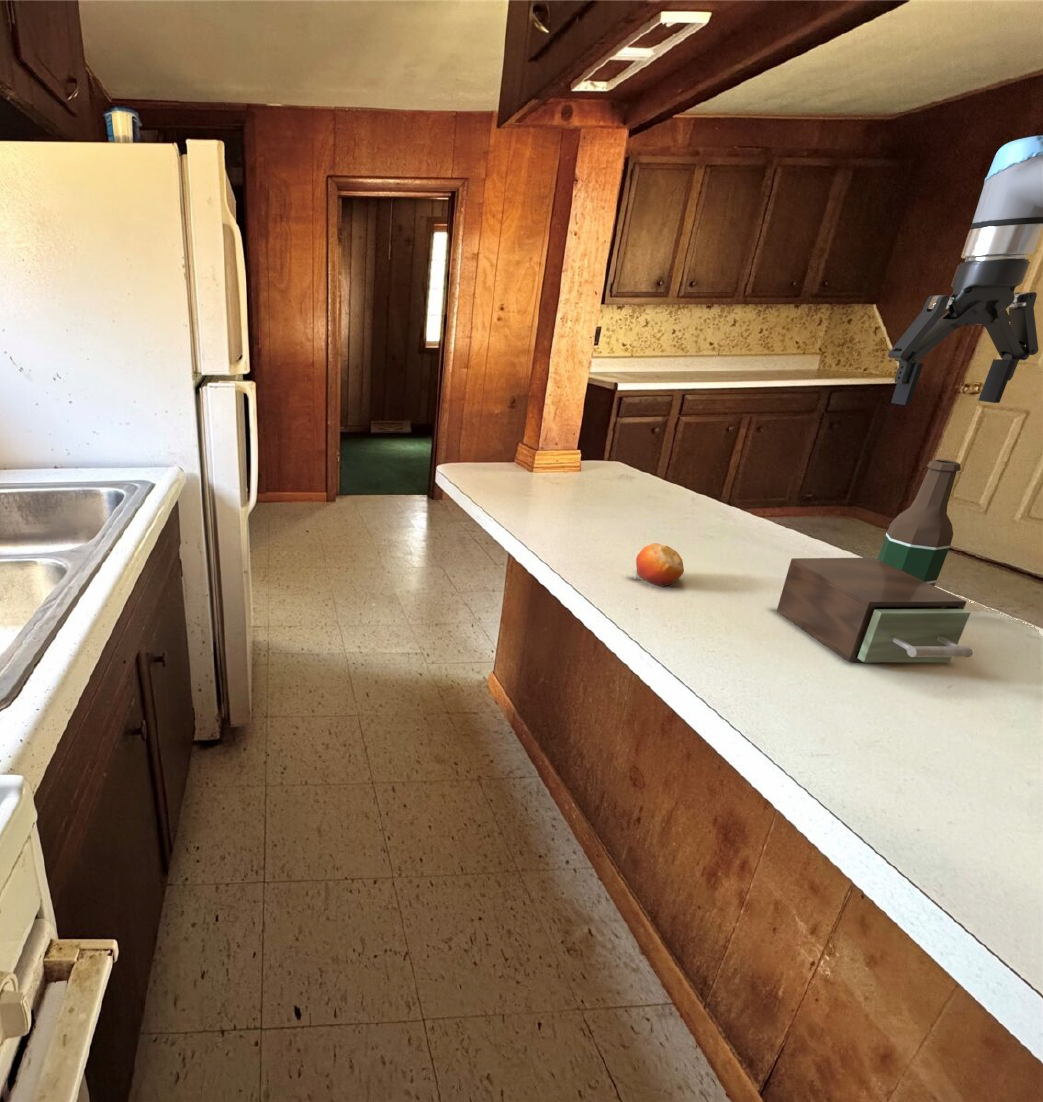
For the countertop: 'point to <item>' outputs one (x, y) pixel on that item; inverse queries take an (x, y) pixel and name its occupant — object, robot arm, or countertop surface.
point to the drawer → (914, 635)
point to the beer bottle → (923, 526)
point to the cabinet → (850, 598)
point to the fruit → (659, 564)
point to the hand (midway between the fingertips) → (944, 403)
